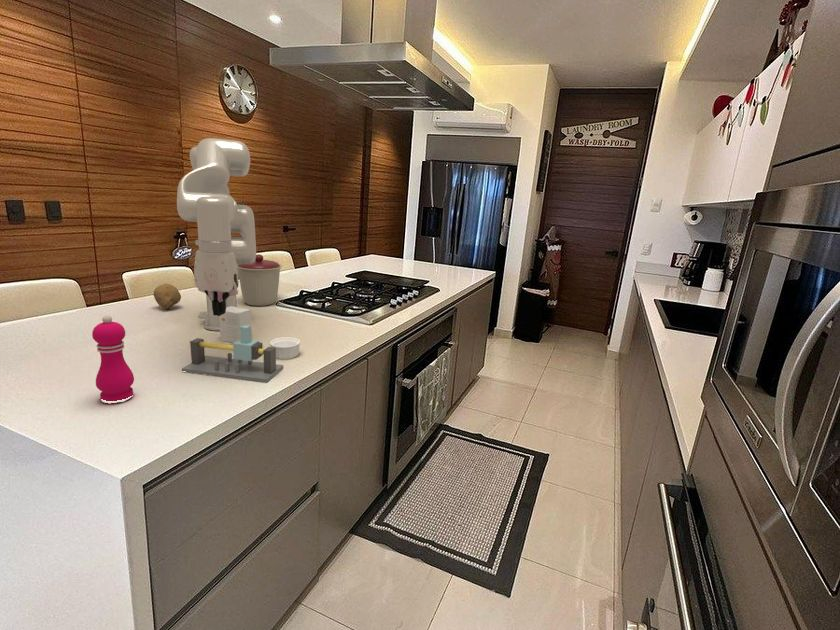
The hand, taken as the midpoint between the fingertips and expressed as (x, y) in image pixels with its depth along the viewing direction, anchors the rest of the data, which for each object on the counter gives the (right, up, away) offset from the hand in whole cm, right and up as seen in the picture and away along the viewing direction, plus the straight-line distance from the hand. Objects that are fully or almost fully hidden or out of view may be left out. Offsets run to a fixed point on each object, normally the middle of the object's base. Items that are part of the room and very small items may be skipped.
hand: (219, 314), depth 117 cm
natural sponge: (-44, +2, +53) cm, 69 cm away
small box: (-6, -9, +25) cm, 28 cm away
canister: (-15, +5, +70) cm, 72 cm away
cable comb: (+3, -15, +3) cm, 16 cm away
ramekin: (+13, -13, +16) cm, 24 cm away
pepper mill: (-16, -20, -16) cm, 30 cm away
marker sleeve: (+7, -12, +1) cm, 14 cm away
